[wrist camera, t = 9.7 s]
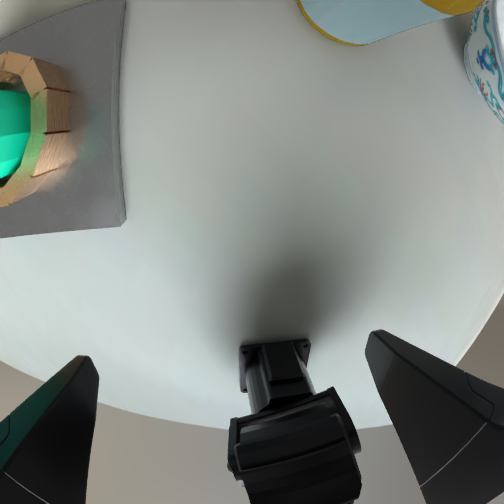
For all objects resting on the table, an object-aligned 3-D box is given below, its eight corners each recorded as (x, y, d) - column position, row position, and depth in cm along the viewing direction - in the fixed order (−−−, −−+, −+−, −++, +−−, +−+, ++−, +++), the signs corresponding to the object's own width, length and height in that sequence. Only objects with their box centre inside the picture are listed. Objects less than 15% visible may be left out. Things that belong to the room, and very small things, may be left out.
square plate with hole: (126, 219, 18) (105, 244, 14) (-20, 235, 16) (-49, 256, 12) (126, 3, 12) (107, -24, 8) (-29, 66, 10) (-61, 64, 6)
